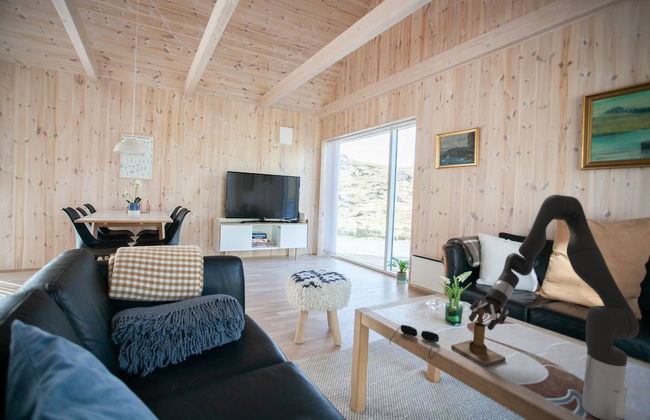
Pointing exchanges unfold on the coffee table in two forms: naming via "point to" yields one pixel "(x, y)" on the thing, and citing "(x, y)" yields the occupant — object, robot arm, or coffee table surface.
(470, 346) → the wooden pepper mill
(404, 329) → the sunglasses
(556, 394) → the coffee table surface
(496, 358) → the serving board
